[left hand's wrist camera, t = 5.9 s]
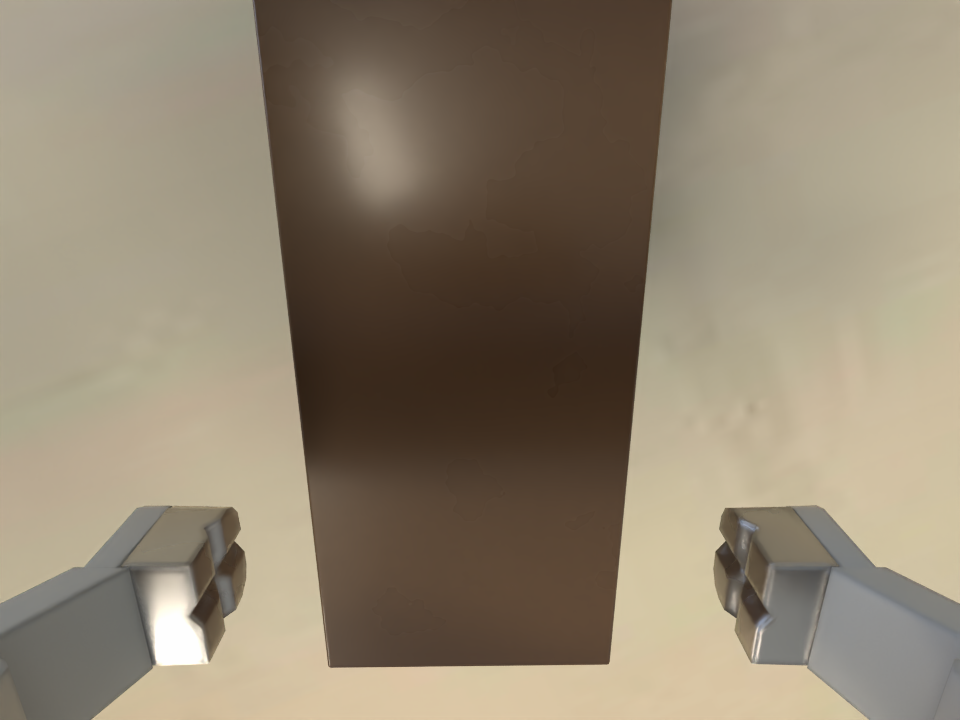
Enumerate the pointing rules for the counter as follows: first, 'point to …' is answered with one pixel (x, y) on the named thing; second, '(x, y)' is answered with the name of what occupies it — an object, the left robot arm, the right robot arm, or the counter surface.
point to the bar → (465, 310)
